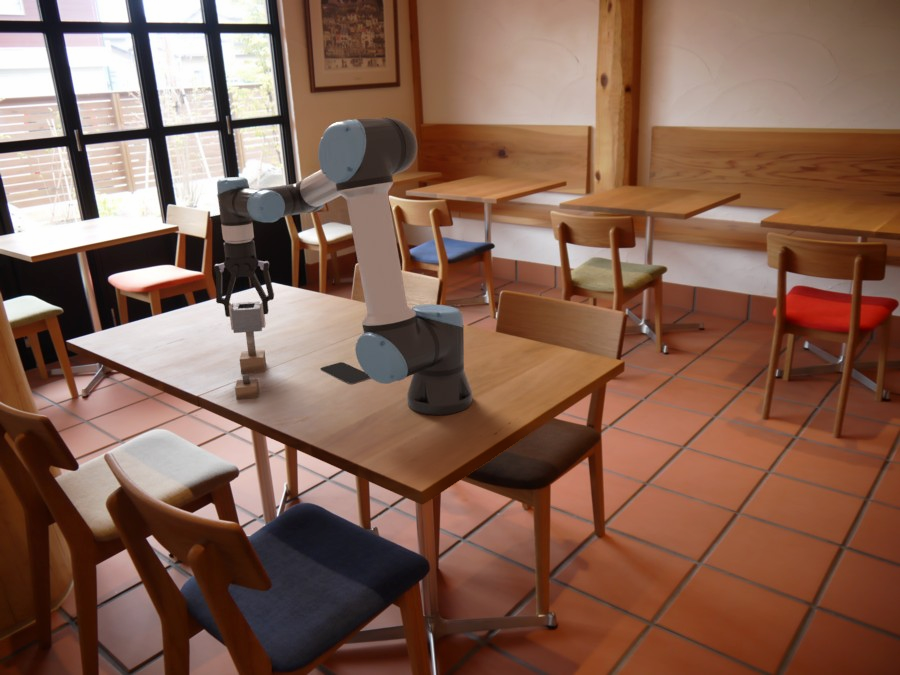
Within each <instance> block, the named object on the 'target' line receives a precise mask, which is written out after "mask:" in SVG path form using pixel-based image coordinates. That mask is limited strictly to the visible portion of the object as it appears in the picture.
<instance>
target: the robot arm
mask: <svg viewBox="0 0 900 675" xmlns="http://www.w3.org/2000/svg"><path fill="white" fill-rule="evenodd" d="M417 141H418V140H417V137H416V135H415V133H414V131H413V129H412V128H411V127H410V126H409V125H408V124H406V123H405V122H403V121H402V120H400V119H397V118H394V117H381V118H380V117H379V118H357V119H347V120H342V121H337V122H334V123H332V124H330V125H329V126H328V127H327V128H326V129H325V130H324V132H323V134H322V137H321V138H320V141H319V143H318V151H317V152H318V153H317V155H318V162H319V163H318V165H319V167H320V169H319V170H318V171H316V172H313V173H312V174H310V175H309V176H307V177H305V178H304V179H301V180H300V181H298V182H296V183H290V184H286V185H285V184H284V185H278V186H269V187H262V188H261V187H260V188H253V187H250V185H249V182H248V179H247V178H246V177H242V176H235V177H234V176H233V177H230V176H229V177H223V178H220V179H218V180H217V182H216V185H217V186H216V188H217V194H216V196H217V201H218V208H219V216H220V222H221V234H222V239H223V240H224V242H223V248H224V249H223V251H224V258H225V260H224V262H222V263H215V264H214V266H213V270H214V273H215V299H216V300H215V301H216V303H217V304H221V305H223V308H224V313H225V317H226V318H229V320H230V327H231V330H232V331H233V323H232V314H231V309H232V307H233V304H234V303H233V302H230V301H231V298H232V293H233V289H234V286H235V282H236V279H237V278H243V277H244V278H249V279H250V281H251V283H252V284H253V286H254V288H255V291H256V293H257V294H258V296H259V298H260V300H259V301H260V312H261V322H262V329H264V328H266V325H267V324H266V318H265V317H266V316H265V315H268V314H269V311H270V310H269V303H268V302H269V301H272V300H274V297H275V293H274V288H273V285H272V280H271V276H270V271H269V267H270V261H268V260H265V261H263V260H259V259H258V258H257V253H256V245H255V240H254V238H255V234H254V225H253V221H256V222H261V223H274V222H277V221H278V220H280V219H281V218H285V217H289V216H295V215H302V214H312V213H315V212H318V211H320V210H322V209H323V208H324V207H325V205H326V203H328V202H331V201H333V200H334V199H337V198H339V197H343V199H345V200H346V207H347V210H348V211H347V212H348V215H349V222H350V227H351V233H352V236H353V242H354V248H355V253H356V258H357V264H358V269H359V274H360V279H361V280H360V281H361V286H362V290H363V295H364V296H363V297H364V301H365V302H364V303H365V307H366V311H367V312H366V315H365V316H364V318H363V320H362V322H361V325H362V331H363V333H362V334H361V335H360V336H359V337H358V339H357V341H356V344H355V356H356V359H357V361H358V364H359V366H360V367H361V369H362V371H363V372H365V373H366V374H368V375H369V377H370V379H371V380H373V381H375V382H377V383H379V384H384V385H385V384H392V383H395V382H399V381H402V380H405V379H406V378H408V377H410V376H411V380H410V382H409V383H410V384H409V387H408V390H407V397H406V398H407V406H408V407H409V408H410V409H411V410H413V411H415V412H416V413H417V412H418V413H421V414H424V415H431V416H432V415H433V416H434V415H435V416H442V415H443V416H444V415H451V414H456V413H459V412H462V411H465V410H467V409H468V408H469V407H470V406H471V405H472V403H473V391H472V388H471V386H470V382H469V381H468V377H467V374H466V372H465V352H464V351H465V349H464V346H465V344H464V343H465V342H464V337H465V335H464V328H465V326H464V319H463V316H464V315H463V313H462V311H461V310H460V309H458V308H457V307H455V306H450V305H444V304H419V305H414V306H412V308H411V307H409V306H408V301H407V296H406V295H407V294H406V290H405V283H404V279H403V272H402V266H401V261H400V256H399V251H398V243H397V239H396V233H395V227H394V222H393V215H392V211H391V205H390V200H389V194H388V193H389V191H390V189H391V188H392V186H393V184H394V180H393V176H395V175H397V174H400V173H403V172H404V171H405V172H406V170H408V169H409V168H410V167H411V166H412V165H413V163H414V162H415V160H416V158H417V155H418V142H417ZM257 267H260V270H261V271H262V273H263V279H264V283H265V287H266V291H267V295H266V292H265V290H264V288H263V287H262V285H261V282H260V281H259V279H258V276H257V274H256V272H255V271H256V269H257ZM225 269H227V271H228V272H229V273H230V278H229V282H228V285H227V290H226V293H225V297H223V272H224V271H225Z"/></svg>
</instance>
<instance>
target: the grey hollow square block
mask: <svg viewBox="0 0 900 675" xmlns="http://www.w3.org/2000/svg"><path fill="white" fill-rule="evenodd" d="M260 301H261V300H259V301H244V302H234V303H233V307H232V309H231V314H232V323H233V330H232V331H233V334H241V333H246V332H254V333H255V332H262V331H263V328H262V322H261V312H260Z"/></svg>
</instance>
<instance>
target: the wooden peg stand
mask: <svg viewBox="0 0 900 675" xmlns="http://www.w3.org/2000/svg"><path fill="white" fill-rule="evenodd" d="M245 338H246V345H247V346H246V347H247V351H241V353H240V355H239V356H240V357H239V365H240V374H242V375H243V374H252V373H264V372H265V373H266V367H267V361H266V359H267V358H266V350H265V349H260V350H259V349H258V350H257V349H256V342H255V332H245Z"/></svg>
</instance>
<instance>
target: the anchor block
mask: <svg viewBox="0 0 900 675" xmlns="http://www.w3.org/2000/svg"><path fill="white" fill-rule="evenodd" d="M241 377H242V379H237V380H236V383H235V387H234V389H235V398H236V400H244V399H256V398H258V397H259V393H260V386H259V385H260V384H259V378H250V373H243V374H242V375H241Z"/></svg>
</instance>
